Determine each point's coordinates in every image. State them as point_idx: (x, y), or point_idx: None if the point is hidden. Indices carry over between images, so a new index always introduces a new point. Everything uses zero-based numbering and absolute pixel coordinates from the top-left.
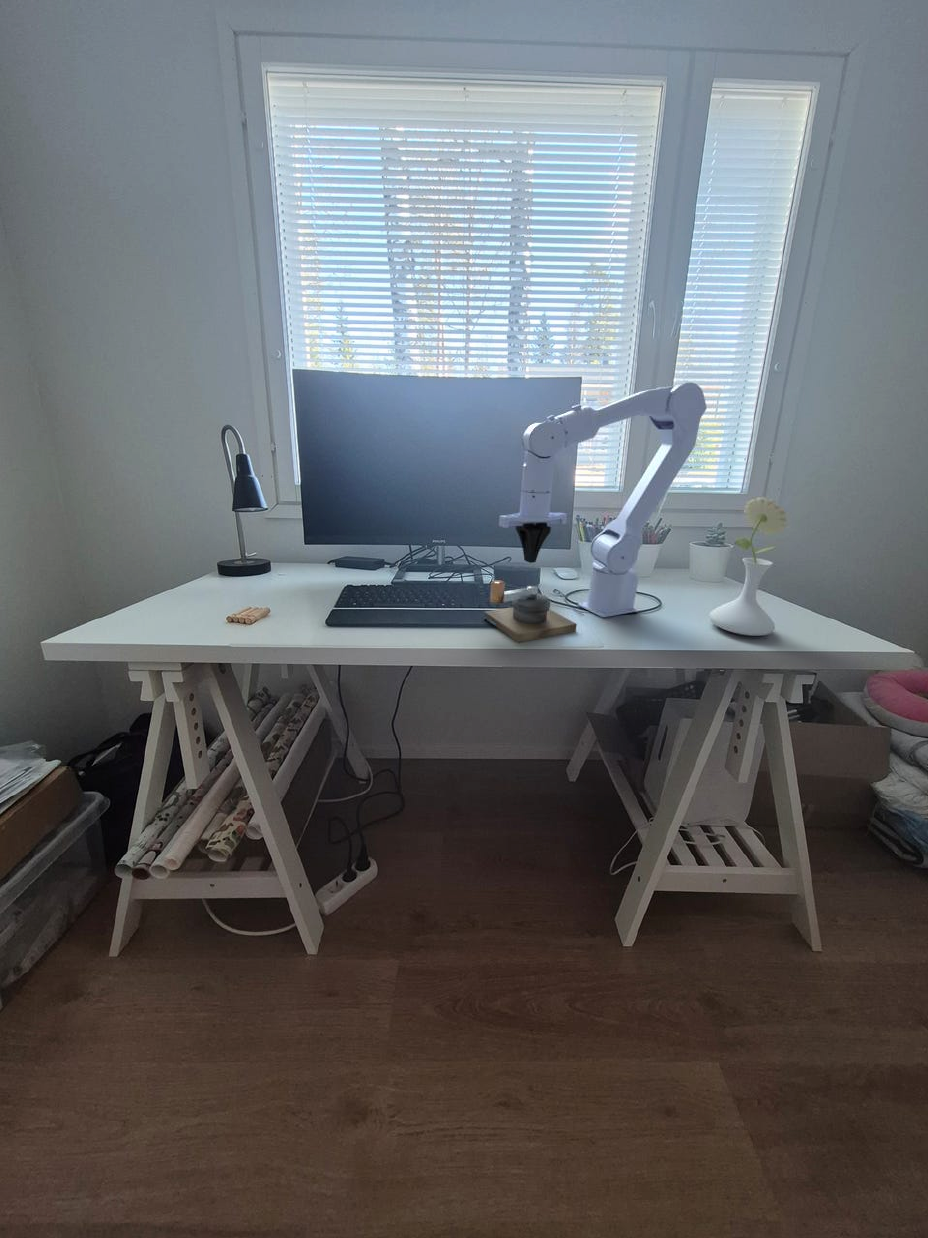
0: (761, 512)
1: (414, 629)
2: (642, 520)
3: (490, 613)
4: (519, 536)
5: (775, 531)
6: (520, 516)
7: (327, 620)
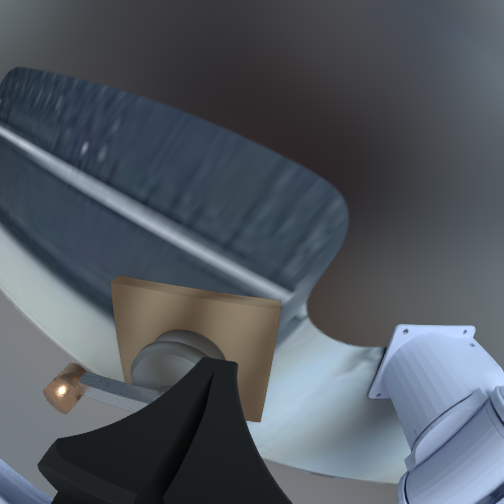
0: None
1: (19, 250)
2: None
3: (118, 299)
4: (113, 426)
5: None
6: None
7: None
